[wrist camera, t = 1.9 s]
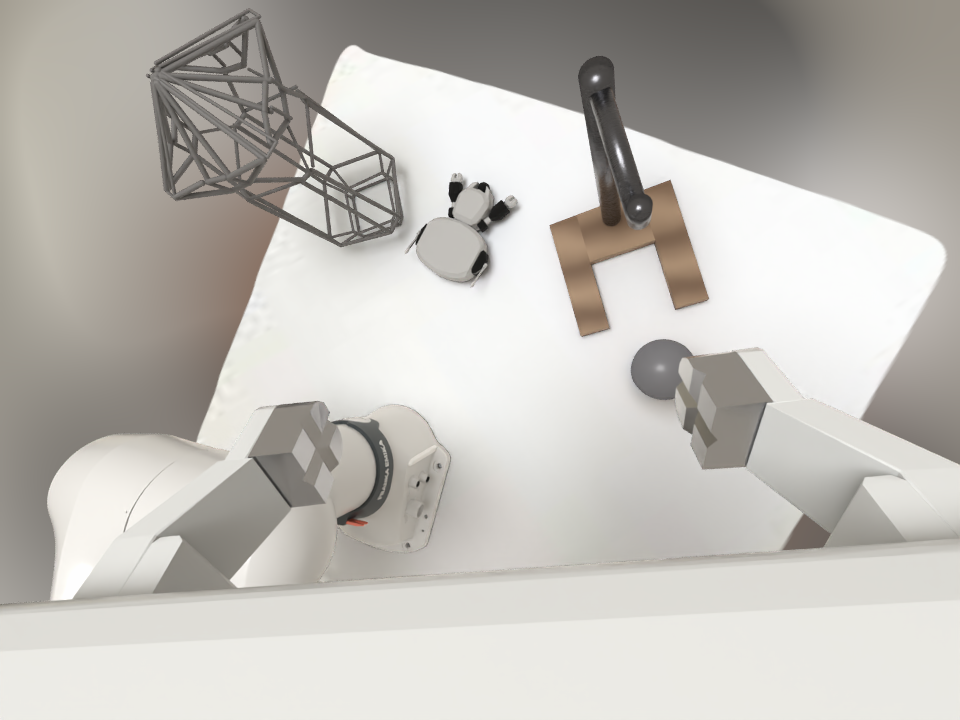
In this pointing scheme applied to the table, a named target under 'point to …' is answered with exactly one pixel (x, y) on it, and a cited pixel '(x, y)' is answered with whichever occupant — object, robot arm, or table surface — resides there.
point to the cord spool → (659, 368)
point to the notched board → (596, 242)
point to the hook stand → (611, 148)
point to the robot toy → (461, 232)
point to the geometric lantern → (167, 139)
